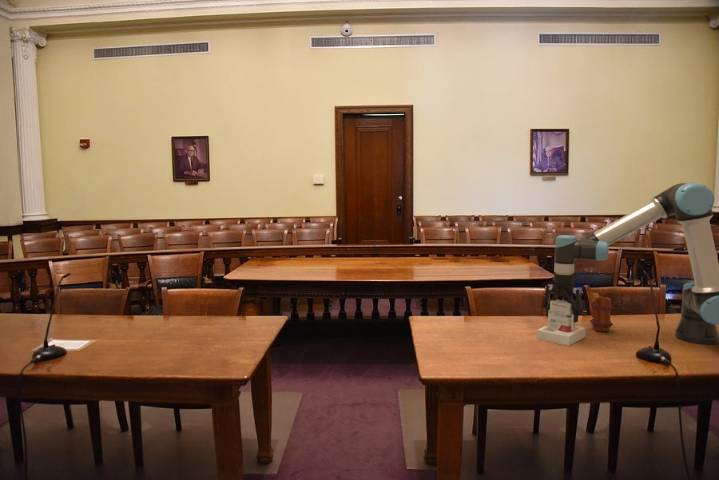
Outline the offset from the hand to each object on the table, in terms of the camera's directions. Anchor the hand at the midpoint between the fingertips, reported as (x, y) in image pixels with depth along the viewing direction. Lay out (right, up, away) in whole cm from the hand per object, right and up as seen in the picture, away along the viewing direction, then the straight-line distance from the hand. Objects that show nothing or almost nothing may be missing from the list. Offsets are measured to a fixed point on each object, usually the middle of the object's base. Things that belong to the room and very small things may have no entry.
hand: (561, 327), depth 204 cm
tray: (0, -4, 0) cm, 4 cm away
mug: (+22, -3, +14) cm, 26 cm away
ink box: (0, -1, 0) cm, 1 cm away
